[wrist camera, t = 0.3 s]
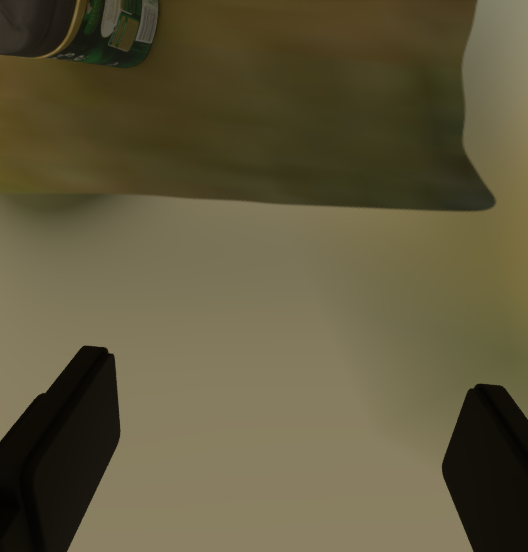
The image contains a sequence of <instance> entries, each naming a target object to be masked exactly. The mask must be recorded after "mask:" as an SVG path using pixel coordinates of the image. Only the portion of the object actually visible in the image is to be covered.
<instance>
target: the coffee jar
mask: <svg viewBox="0 0 528 552" xmlns="http://www.w3.org/2000/svg"><path fill="white" fill-rule="evenodd" d="M157 19H158V0H0V54H1V55H12V56H17V57H22V58H30V59H39V58H53V59H60V60H70V61H77V62H85V63H92V64H98V65H105V66H111V67H118V68H129V67H133V66H135V65H137V64H139V63H140V62H141V61H142V60H143V59H144V58H145V57H146V55H147V54H148V51H149V49H150V47H151V44H152V41H153V38H154V35H155V31H156V26H157Z"/></svg>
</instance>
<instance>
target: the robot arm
mask: <svg viewBox="0 0 528 552" xmlns="http://www.w3.org/2000/svg"><path fill="white" fill-rule="evenodd" d="M119 438H120V419H119V406H118V393H117V381H116V368H115V358H114V355H113V354H110V353H108V350H107V348H104V347H95V346H83V347H82V348H81V349H80V350H79V351H78V353H77V354H76V355H75V356H74V358H73V359H72V360H71V361H70V363H69V364H68V365H67V367H66V368H65V369H64V370H63V372H62V373H61V374H60V375H59V376H58V378H57V379H56V380H55V382H54V383H53V384H52V385H51V387H50V388H49V389H48V390H47V392H46V393H42V394H40V395H38V396H37V397H36V399H34V400H33V402H32V403H31V404H30V405H29V407H28V408H27V409H26V410H25V412H24V413H23V414H22V415H21V417H20V418H19V419H18V420H17V421H16V423H15V424H14V425H13V426H12V428H11V429H10V430H9V431H8V433H7V434H6V435H5V436H4V438H3V439H2V440H1V441H0V552H67V550H68V548H69V546H70V544H71V542H72V540H73V538H74V536H75V533H76V531H77V529H78V527H79V525H80V523H81V521H82V518H83V517H84V515H85V512H86V510H87V508H88V506H89V504H90V502H91V500H92V498H93V495H94V493H95V491H96V489H97V487H98V485H99V483H100V481H101V479H102V477H103V474H104V472H105V470H106V468H107V466H108V464H109V462H110V460H111V458H112V455H113V453H114V451H115V449H116V447H117V445H118V442H119ZM442 472H443V477H444V480H445V482H446V485H447V487H448V490H449V492H450V494H451V497H452V500H453V502H454V505H455V507H456V510H457V512H458V514H459V517H460V519H461V522H462V524H463V527H464V529H465V532H466V534H467V537H468V539H469V542H470V544H471V546H472V549H473V551H474V552H528V419H527V418H526V417H525V415H524V414H523V412H522V411H521V410H520V409H519V407H518V406H517V404H516V403H515V401H514V400H513V399H512V397H511V396H510V395H509V393H508V392H507V391H506V389H505V388H503V386H500V385H489V384H477V385H476V386H475V387H474V389H469V390H468V392H467V394H466V397H465V400H464V403H463V406H462V409H461V411H460V415H459V417H458V420H457V423H456V426H455V428H454V431H453V434H452V437H451V440H450V443H449V446H448V448H447V451H446V454H445V457H444V460H443V463H442Z"/></svg>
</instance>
